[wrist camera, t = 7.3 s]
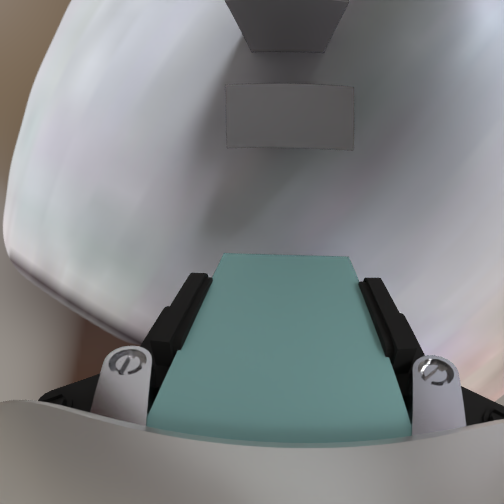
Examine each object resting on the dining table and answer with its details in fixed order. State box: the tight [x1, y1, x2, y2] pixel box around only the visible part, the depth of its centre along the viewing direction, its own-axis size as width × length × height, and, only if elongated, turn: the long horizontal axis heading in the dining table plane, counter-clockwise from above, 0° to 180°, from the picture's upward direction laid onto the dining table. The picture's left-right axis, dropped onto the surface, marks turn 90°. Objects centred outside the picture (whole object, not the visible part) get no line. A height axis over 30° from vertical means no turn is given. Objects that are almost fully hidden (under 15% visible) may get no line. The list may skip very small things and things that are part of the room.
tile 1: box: [225, 0, 349, 53], centre depth 13 cm, size 3×5×10 cm, turn 91°
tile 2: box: [225, 83, 354, 151], centre depth 16 cm, size 3×5×10 cm, turn 90°
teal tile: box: [147, 253, 411, 443], centre depth 8 cm, size 3×5×10 cm, turn 90°
